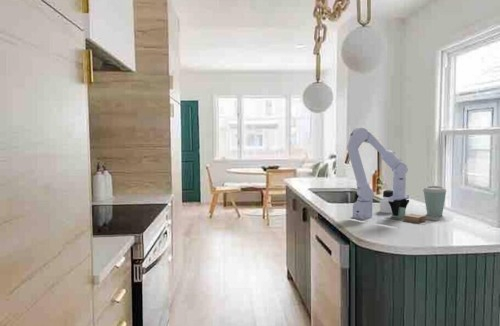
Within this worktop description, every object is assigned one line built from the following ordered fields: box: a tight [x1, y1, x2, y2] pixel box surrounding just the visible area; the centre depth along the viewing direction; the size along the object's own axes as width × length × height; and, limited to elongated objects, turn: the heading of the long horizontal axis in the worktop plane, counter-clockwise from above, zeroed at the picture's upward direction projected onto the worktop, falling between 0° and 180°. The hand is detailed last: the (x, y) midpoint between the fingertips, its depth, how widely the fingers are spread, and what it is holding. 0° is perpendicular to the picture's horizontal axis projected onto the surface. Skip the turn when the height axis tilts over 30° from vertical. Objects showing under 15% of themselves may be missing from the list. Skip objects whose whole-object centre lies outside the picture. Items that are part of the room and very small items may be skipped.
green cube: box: [391, 207, 407, 218], centre depth 202 cm, size 4×4×4 cm
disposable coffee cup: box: [422, 185, 447, 217], centre depth 208 cm, size 11×11×15 cm
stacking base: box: [385, 213, 438, 226], centre depth 196 cm, size 14×20×4 cm
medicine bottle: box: [379, 189, 393, 214], centre depth 216 cm, size 7×7×12 cm
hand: (398, 214), depth 202 cm, fingers open, 5 cm apart
